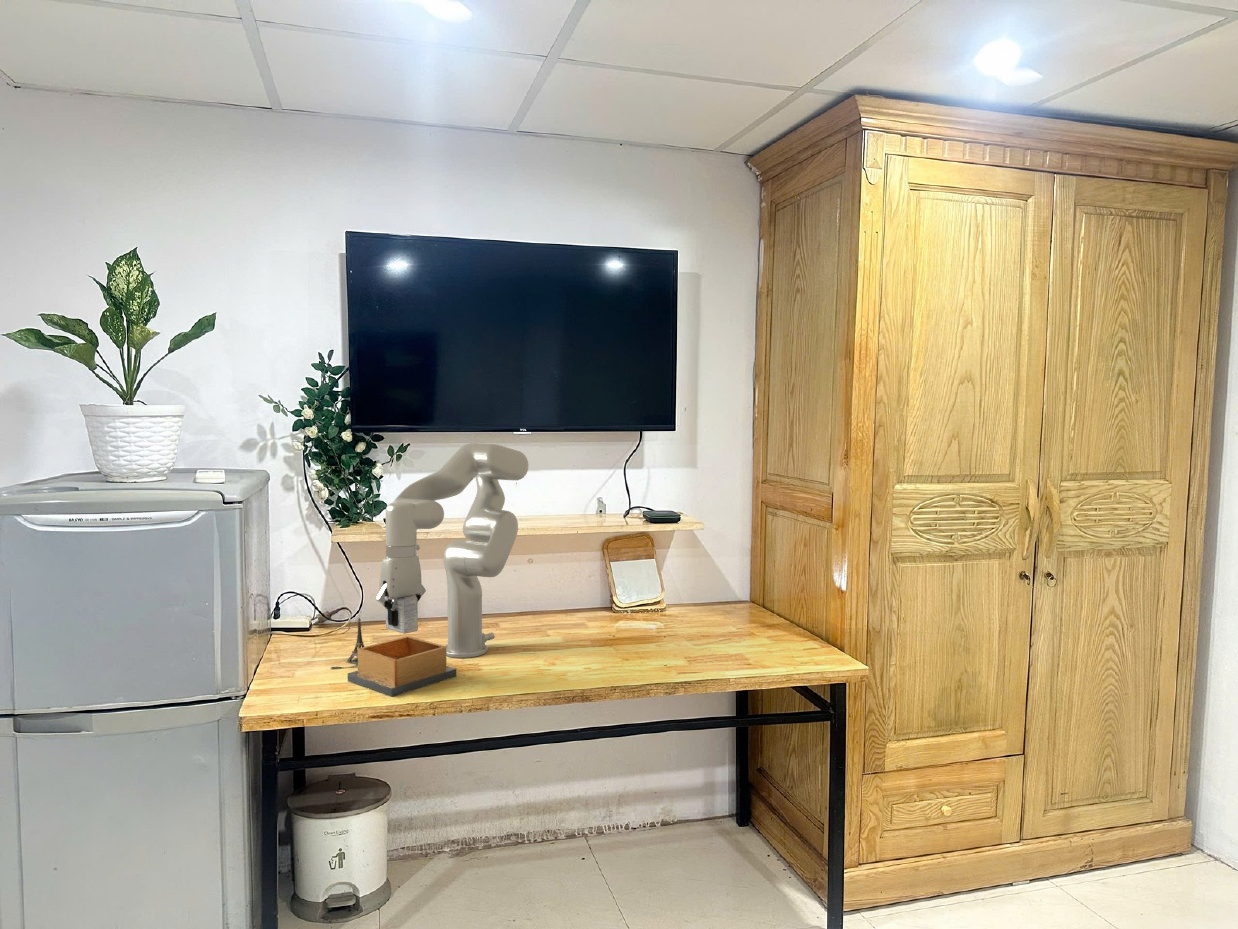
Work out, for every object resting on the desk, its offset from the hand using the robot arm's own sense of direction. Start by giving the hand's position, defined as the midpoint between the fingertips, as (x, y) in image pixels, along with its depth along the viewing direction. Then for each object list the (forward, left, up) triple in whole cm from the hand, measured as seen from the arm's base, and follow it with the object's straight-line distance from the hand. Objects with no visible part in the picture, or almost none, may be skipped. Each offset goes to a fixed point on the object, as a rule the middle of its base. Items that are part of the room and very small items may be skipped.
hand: (401, 622), depth 217 cm
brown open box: (0, 0, -15) cm, 15 cm away
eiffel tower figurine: (-2, -21, -15) cm, 26 cm away
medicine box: (0, 0, -2) cm, 2 cm away
